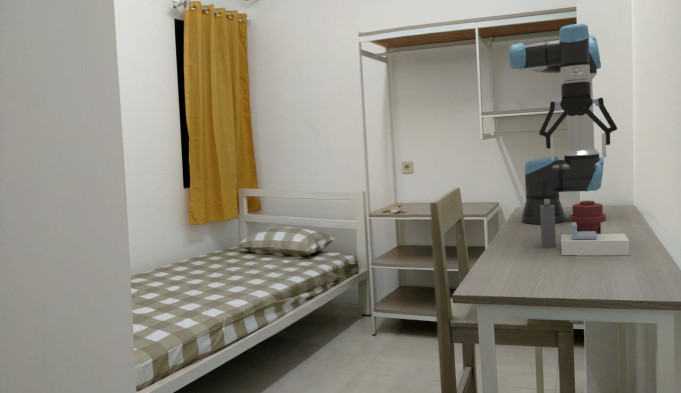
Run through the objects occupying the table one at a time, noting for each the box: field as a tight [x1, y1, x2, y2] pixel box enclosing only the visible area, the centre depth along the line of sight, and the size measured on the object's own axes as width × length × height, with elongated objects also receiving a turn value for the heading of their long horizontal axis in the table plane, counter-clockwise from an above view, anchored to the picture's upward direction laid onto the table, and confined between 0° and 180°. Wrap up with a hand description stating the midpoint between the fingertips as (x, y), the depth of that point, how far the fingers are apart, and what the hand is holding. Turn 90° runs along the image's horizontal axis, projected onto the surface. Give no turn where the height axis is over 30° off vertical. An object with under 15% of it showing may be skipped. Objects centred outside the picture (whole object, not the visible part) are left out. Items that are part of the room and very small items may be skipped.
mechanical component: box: [569, 200, 607, 234], centre depth 185 cm, size 12×10×10 cm
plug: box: [540, 199, 557, 248], centre depth 184 cm, size 4×4×14 cm
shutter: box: [570, 222, 597, 239], centre depth 173 cm, size 7×6×4 cm
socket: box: [560, 233, 630, 256], centre depth 173 cm, size 10×17×4 cm, turn 71°
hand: (578, 158), depth 173 cm, fingers open, 13 cm apart
